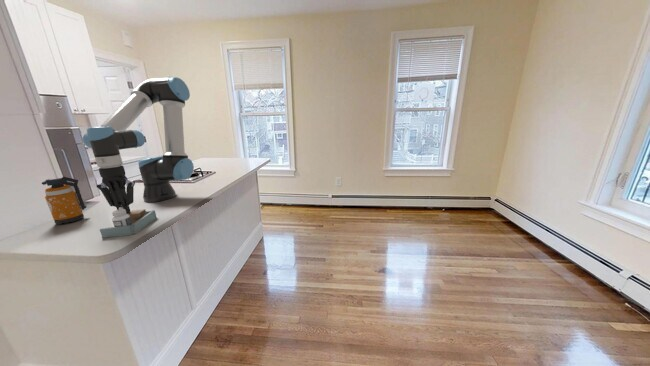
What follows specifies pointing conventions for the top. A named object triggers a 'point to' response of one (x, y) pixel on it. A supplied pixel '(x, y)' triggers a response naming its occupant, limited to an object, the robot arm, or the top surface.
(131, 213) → the tan block
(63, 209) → the canister
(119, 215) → the pill bottle
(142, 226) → the box
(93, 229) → the top surface
